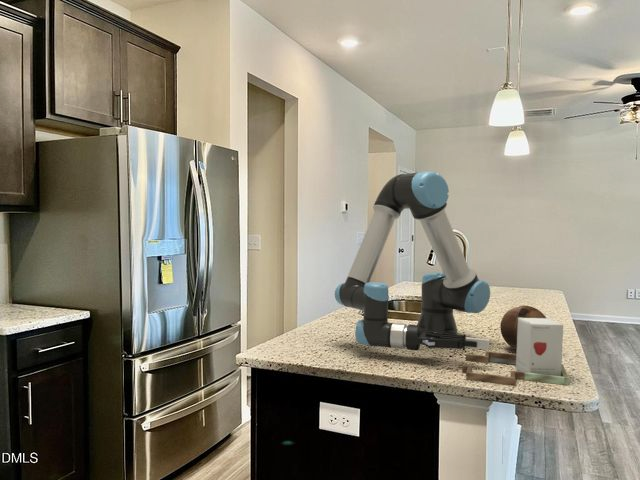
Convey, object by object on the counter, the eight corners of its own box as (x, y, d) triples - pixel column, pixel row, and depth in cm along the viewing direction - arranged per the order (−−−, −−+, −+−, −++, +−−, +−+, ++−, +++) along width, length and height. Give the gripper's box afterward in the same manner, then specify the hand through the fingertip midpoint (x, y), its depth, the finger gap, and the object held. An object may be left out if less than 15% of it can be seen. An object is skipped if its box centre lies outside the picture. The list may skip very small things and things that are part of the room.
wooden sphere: (513, 343, 171) (514, 300, 171) (557, 352, 160) (558, 306, 159) (491, 350, 161) (492, 304, 161) (536, 360, 150) (537, 311, 149)
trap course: (460, 378, 130) (460, 371, 130) (467, 354, 154) (467, 349, 154) (571, 392, 121) (571, 385, 121) (560, 365, 145) (560, 359, 145)
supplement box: (528, 378, 131) (530, 323, 131) (515, 369, 140) (516, 317, 140) (562, 379, 131) (564, 324, 131) (546, 369, 140) (548, 317, 140)
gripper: (409, 344, 154) (489, 352, 146) (402, 354, 142) (488, 363, 134) (410, 320, 154) (489, 327, 146) (403, 328, 141) (489, 336, 133)
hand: (489, 344), depth 140 cm, fingers closed
